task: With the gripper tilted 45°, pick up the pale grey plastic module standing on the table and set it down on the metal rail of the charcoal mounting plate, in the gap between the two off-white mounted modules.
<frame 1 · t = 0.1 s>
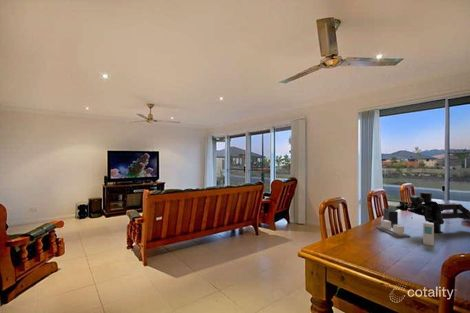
hand: (402, 208, 156), 17 cm above the table, tool horizontal, fingers open, 9 cm apart
module: (428, 243, 137), on the table
small box: (390, 223, 179), on the table
mounting plate: (392, 232, 158), on the table
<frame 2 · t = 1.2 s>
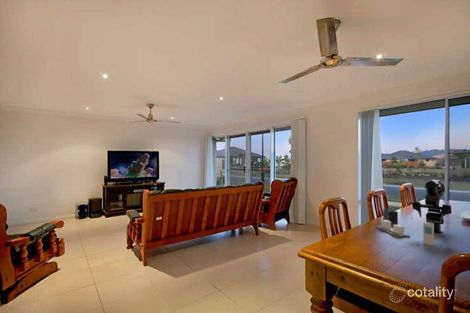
hand: (430, 218, 143), 14 cm above the table, tool tilted 45°, fingers open, 9 cm apart
nothing on the table moved.
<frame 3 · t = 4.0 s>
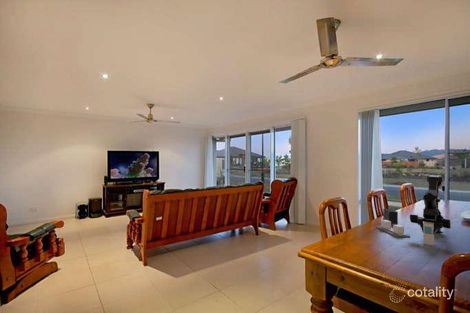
hand: (428, 233, 136), 7 cm above the table, tool tilted 45°, fingers closed on module, 4 cm apart
module: (428, 243, 137), on the table, touching gripper
everything else where it was.
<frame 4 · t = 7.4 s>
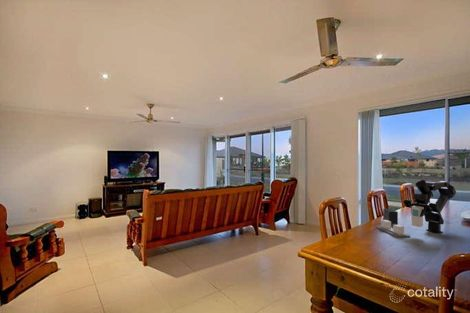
hand: (416, 215, 149), 14 cm above the table, tool tilted 45°, fingers closed on module, 4 cm apart
module: (417, 225, 150), point 7 cm above the table, touching gripper
everything else where it was.
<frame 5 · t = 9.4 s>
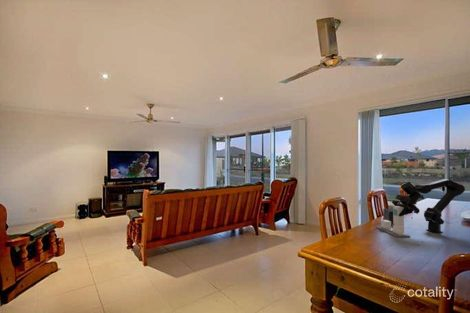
hand: (396, 215, 158), 12 cm above the table, tool tilted 45°, fingers closed on module, 4 cm apart
module: (398, 224, 158), point 5 cm above the table, touching gripper
everything else where it was.
when the fingers open (9 cm above the table, at t = 10.9 s): module drops 1 cm, resting on mounting plate.
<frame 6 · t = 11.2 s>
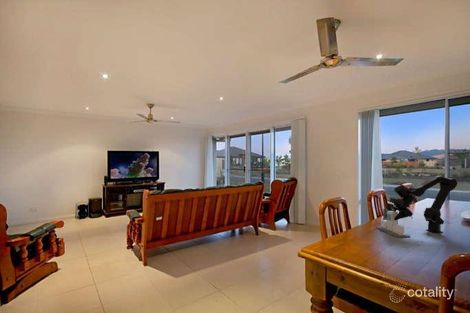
hand: (390, 218, 158), 10 cm above the table, tool tilted 45°, fingers open, 8 cm apart
module: (392, 229, 158), point 2 cm above the table, touching mounting plate
everything else where it was.
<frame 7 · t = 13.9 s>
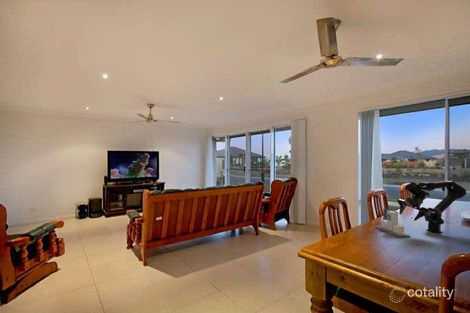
hand: (406, 217, 157), 10 cm above the table, tool tilted 35°, fingers open, 9 cm apart
nothing on the table moved.
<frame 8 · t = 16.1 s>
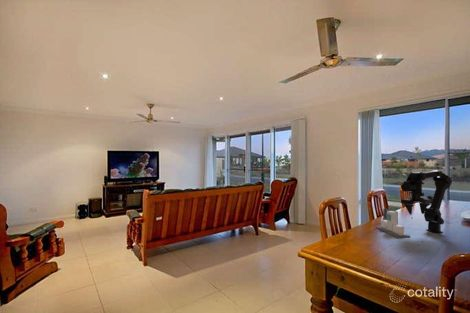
hand: (416, 214, 155), 13 cm above the table, tool pointing down, fingers open, 9 cm apart
nothing on the table moved.
at the end: module 0.0 cm off-centre on the mounting plate, point 1.8 cm above the mounting plate's base; module tilted 0°; the gripper is holding nothing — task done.
